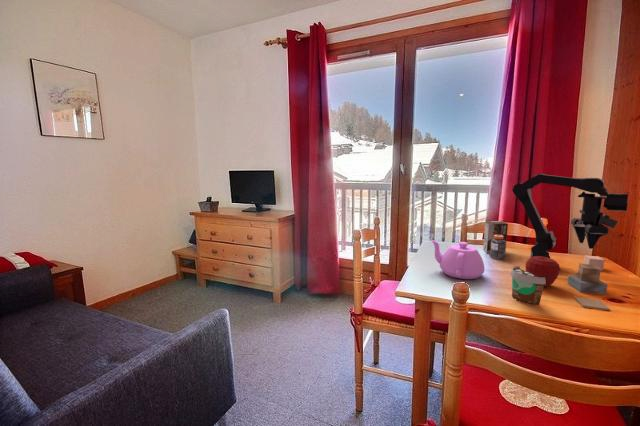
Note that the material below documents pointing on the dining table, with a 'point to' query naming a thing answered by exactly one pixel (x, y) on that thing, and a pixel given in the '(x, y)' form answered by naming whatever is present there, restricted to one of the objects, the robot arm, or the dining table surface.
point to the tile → (591, 303)
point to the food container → (526, 286)
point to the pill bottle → (497, 247)
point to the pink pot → (460, 261)
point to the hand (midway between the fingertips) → (585, 245)
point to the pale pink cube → (594, 261)
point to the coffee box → (494, 233)
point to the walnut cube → (589, 273)
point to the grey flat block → (587, 285)
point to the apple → (543, 268)
